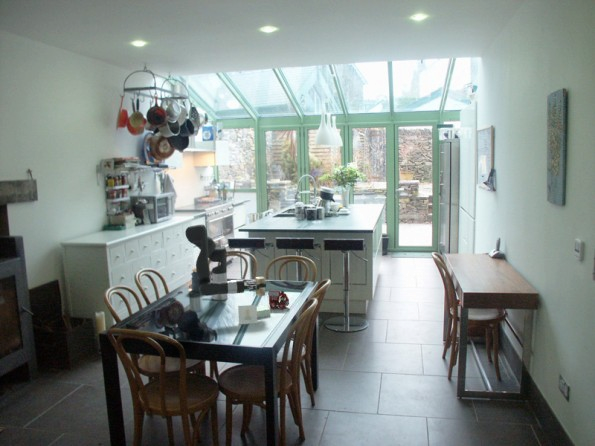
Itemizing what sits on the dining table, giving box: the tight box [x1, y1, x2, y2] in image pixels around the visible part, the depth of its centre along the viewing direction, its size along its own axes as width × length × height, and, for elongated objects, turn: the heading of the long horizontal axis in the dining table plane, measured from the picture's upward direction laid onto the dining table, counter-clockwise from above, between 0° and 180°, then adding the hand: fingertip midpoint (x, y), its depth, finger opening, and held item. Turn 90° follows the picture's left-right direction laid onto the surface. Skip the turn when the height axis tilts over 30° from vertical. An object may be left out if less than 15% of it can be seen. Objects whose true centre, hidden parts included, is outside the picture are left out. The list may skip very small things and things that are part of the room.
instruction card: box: [237, 304, 258, 325], centre depth 271 cm, size 10×3×10 cm, turn 96°
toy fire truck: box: [267, 290, 290, 310], centre depth 298 cm, size 7×12×10 cm, turn 81°
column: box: [254, 276, 266, 297], centre depth 283 cm, size 4×4×10 cm
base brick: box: [257, 305, 271, 319], centre depth 285 cm, size 8×8×4 cm
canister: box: [190, 267, 212, 293], centre depth 340 cm, size 13×13×18 cm
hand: (264, 284), depth 284 cm, fingers closed on column, 4 cm apart
